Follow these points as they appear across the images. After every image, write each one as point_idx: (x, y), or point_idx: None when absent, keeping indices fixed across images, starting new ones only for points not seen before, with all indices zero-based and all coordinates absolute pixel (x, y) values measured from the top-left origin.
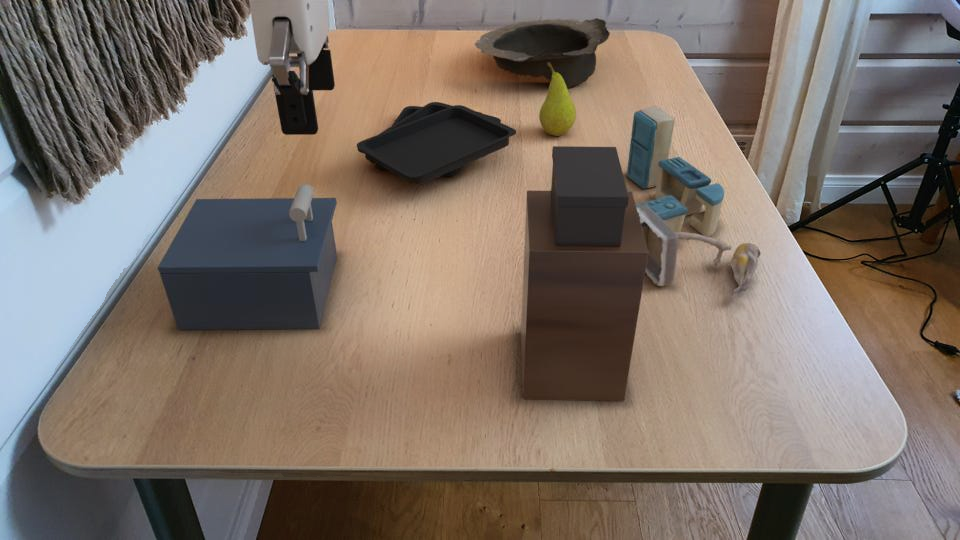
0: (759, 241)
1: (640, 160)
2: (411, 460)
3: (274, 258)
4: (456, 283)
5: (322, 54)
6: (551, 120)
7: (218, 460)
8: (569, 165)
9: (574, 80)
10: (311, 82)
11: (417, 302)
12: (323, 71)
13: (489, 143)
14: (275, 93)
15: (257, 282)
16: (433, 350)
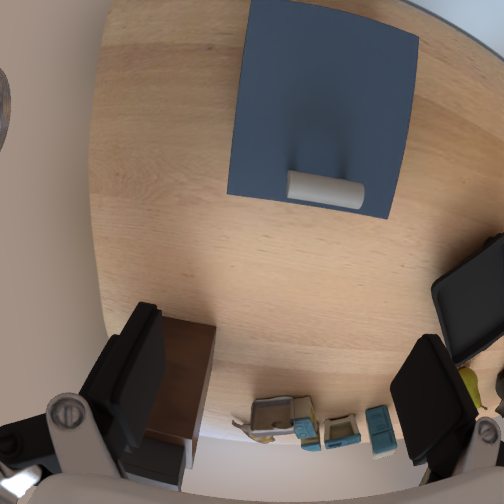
0: (289, 438)
1: (376, 424)
2: (95, 240)
3: (251, 137)
4: (289, 292)
5: (418, 453)
6: None
7: (93, 105)
8: (143, 480)
9: (497, 384)
10: (416, 367)
11: (267, 258)
12: (407, 414)
13: (450, 351)
14: (53, 399)
15: None
16: (198, 265)
